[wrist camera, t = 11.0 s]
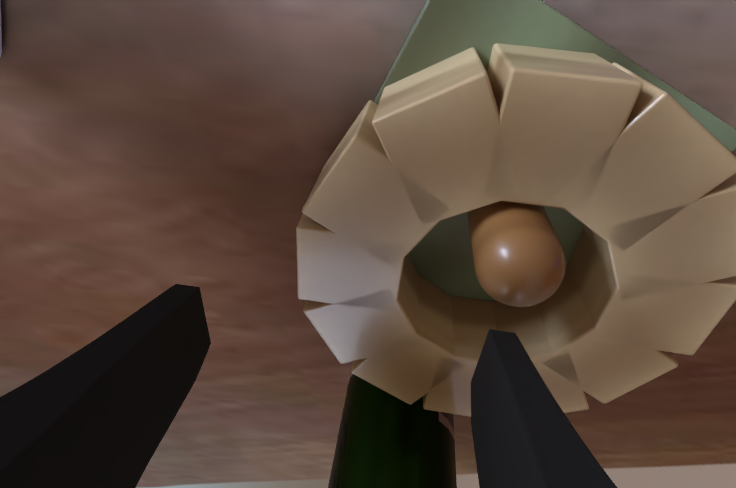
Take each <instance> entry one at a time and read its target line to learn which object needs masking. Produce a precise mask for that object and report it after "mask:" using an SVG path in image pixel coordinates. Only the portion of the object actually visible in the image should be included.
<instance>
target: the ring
mask: <svg viewBox="0 0 736 488" xmlns="http://www.w3.org/2000/svg"><path fill="white" fill-rule="evenodd" d="M499 201H507V202H515V203H522V204H530V205H538V206H546V207H554V208H562V209H565V210H566V211H567V212H569V213H570V214H571V215H573V216H574V217H575V218H576V219H578V220H579V221H580V222H582V223H583V227H584V230H583V232H582V234H581V236H580V239H579V241H578V243H577V245H576V248H575V250H574V252H573V254H572V256H571V259H570V261H569V263H568V265H567V266H566V269H565V275H564V278H563V280H562V283H561V285H560V286H559V288H558V289H557V290H556V292H555V293H554V294H553V295H552V296H550V297H549V298H548V299H546V300H545V301H543V302H541V303H539V304H536V305H533V306H528V307H514V306H509V305H505V304H503V303H501V302H498V301H497V300H494V301H486V300H479V299H472V298H465V297H457V296H451V295H449V294H448V293H446V292H445V291H443V290H442V289H440V288H438V287H437V286H435V285H434V284H432V283H431V282H429V281H428V280H426V279H424V278H423V277H421V276H420V275H419V274H418V272H417V270H416V268H415V266H414V264H413V262H412V260H411V258H410V256H409V254H408V253H409V252H410V251H411V250H412V249H413V248H414V247H415V246H416V245H417V244H418V243H419V242H420V241H421V240H422V239H423V238H424V237H425V236H426V235H427V234H428V233H429V231H430V230H431V229H432V228H433V227H434V226H435V225H436V224H437V223H438V222H439V221H441V220H444V219H447V218H450V217H453V216H456V215H459V214H462V213H465V212H468V211H471V210H474V209H477V208H480V207H484V206H487V205H490V204H493V203H496V202H499ZM302 213H303V215H302V217H301V219H300V221H299V223H298V225H297V227H296V243H297V284H298V299H302V300H307V301H306V303H305V306H304V309H303V311H304V313H305V315H306V316H307V317H308V319H309V320H310V322H311V323H312V324H313V326H314V327H315V329H316V330H317V331H318V333H319V334H320V336H321V337H322V338H323V340H324V341H325V343H326V344H327V345H328V347H329V348H330V350H331V351H332V352H333V354H334V355H335V357H336V358H337V359H338V361H339V362H340V363H341V364H343V363H348V362H352V361H353V363H352V368H351V373H353V374H354V375H356V376H358V377H360V378H362V379H364V380H365V381H367V382H369V383H371V384H373V385H375V386H376V387H378V388H380V389H382V390H384V391H386V392H387V393H389V394H391V395H393V396H395V397H397V398H398V399H400V400H402V401H404V402H406V403H408V404H410V405H411V404H413V403H414V402H415V401H417V400H418V399H420V398H421V397H422V396H423V407H424V409H425V410H432V411H438V412H444V413H451V414H457V415H464V416H470V417H471V380H472V377H473V374H474V371H475V368H476V366H477V363H478V360H479V357H480V354H481V351H482V348H483V345H484V343H485V340H486V337H487V334H488V331H489V329H492V330H499V331H506V332H513V333H515V334H516V335H517V336H518V338H519V339H520V341H521V343H522V345H523V346H524V348H525V350H526V352H527V353H528V355H529V357H530V359H531V360H532V362H533V364H534V366H535V367H536V369H537V371H538V372H539V374H540V376H541V377H542V379H543V381H544V382H545V384H546V386H547V387H548V389H549V390H550V392H551V394H552V395H553V397H554V398H555V400H556V402H557V403H558V405H559V406H560V408H561V409H562V411H563V412H564V413H566V412H573V411H580V410H587V409H589V405H588V401H587V398H586V395H585V392H586V393H588V394H589V395H591V396H592V397H594V398H596V399H597V400H599V401H600V402H602V403H604V404H605V403H608V402H610V401H612V400H614V399H616V398H617V397H619V396H621V395H623V394H625V393H627V392H629V391H631V390H633V389H635V388H637V387H639V386H641V385H643V384H645V383H647V382H649V381H651V380H653V379H655V378H657V377H658V376H660V375H662V374H664V373H666V372H668V371H670V370H672V369H674V368H676V367H678V366H679V365H678V362H677V361H676V359H675V357H674V356H673V354H672V353H679V354H686V355H693V354H694V353H695V352H696V351H697V349H698V348H699V347H700V346H701V344H702V343H703V342H704V341H705V339H706V338H707V337H708V335H709V334H710V333H711V332H712V330H713V329H714V328H715V327H716V325H717V324H718V323H719V321H720V320H721V319H722V318H723V316H724V315H725V314H726V313H727V311H728V310H729V309H730V307H731V306H732V305H733V304H734V302H735V301H736V277H735V276H736V156H735V155H734V154H732V153H731V152H730V151H729V150H728V149H727V148H726V147H725V146H724V145H723V144H722V143H721V142H720V141H719V140H718V139H717V138H715V137H714V136H713V135H712V134H711V133H710V132H709V131H708V130H707V129H706V128H705V127H704V126H703V125H702V124H701V123H699V122H698V121H697V120H696V119H695V118H694V117H693V116H692V115H691V114H690V113H689V112H688V111H687V110H686V109H685V108H684V107H682V106H681V105H680V104H679V103H678V102H677V101H676V100H675V99H674V98H673V97H672V96H671V95H670V94H669V93H667V92H666V91H664V90H662V89H660V88H659V87H657V86H655V85H654V84H652V83H650V82H648V81H647V80H645V79H643V78H642V77H640V76H638V75H636V74H635V73H633V72H631V71H630V70H628V69H626V68H624V67H623V66H621V65H619V64H618V63H615V62H614V63H612V64H611V63H609V62H608V61H606V60H604V59H603V58H601V57H600V56H598V55H596V54H595V53H586V52H576V51H567V50H557V49H548V48H538V47H529V46H520V45H510V44H501V43H496V44H494V46H493V48H492V52H491V57H490V61H489V65H488V70H487V72H486V70H485V68H484V66H483V64H482V61H481V59H480V57H479V55H478V53H477V51H476V49H475V48H474V47H471V48H469V49H467V50H465V51H463V52H460V53H458V54H456V55H454V56H452V57H450V58H447V59H445V60H443V61H441V62H439V63H436V64H434V65H432V66H430V67H428V68H426V69H423V70H421V71H419V72H417V73H415V74H412V75H410V76H408V77H406V78H404V79H402V80H399V81H397V82H395V83H393V84H391V85H388V86H386V87H385V88H384V89H383V92H382V95H381V98H380V101H379V104H378V105H377V104H376V103H375V102H373V101H371V100H370V101H368V102H367V104H366V105H365V107H364V108H363V110H362V111H361V113H360V114H359V116H358V117H357V118H356V120H355V121H354V123H353V124H352V126H351V127H350V129H349V130H348V132H347V133H346V134H345V136H344V137H343V139H342V140H341V142H340V143H339V145H338V146H337V148H336V149H335V150H334V152H333V153H332V155H331V156H330V158H329V159H328V161H327V162H326V164H325V165H324V167H323V169H322V171H321V173H320V175H319V177H318V179H317V181H316V183H315V185H314V187H313V189H312V191H311V193H310V195H309V197H308V199H307V200H306V202H305V204H304V206H303V208H302Z"/></svg>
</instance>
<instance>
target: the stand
mask: <svg viewBox="0 0 736 488" xmlns="http://www.w3.org/2000/svg"><path fill="white" fill-rule="evenodd" d="M496 43H501V44H510V45H520V46H529V47H538V48H548V49H557V50H567V51H576V52H586V53H595V54H596V55H598V56H600V57H601V58H603V59H604V60H606V61H608V62H609V63H611V64H612V63H614V62H615V63H618V64H619V65H621V66H623V67H624V68H626V69H628V70H630V71H631V72H633V73H635V74H636V75H638V76H640V77H642V78H643V79H645V80H647V81H648V82H650V83H652V84H654V85H655V86H657V87H659V88H660V89H662V90H664V91H666V92H667V93H669V94H670V95H671V96H672V97H673V98H674V99H675V100H676V101H677V102H678V103H679V104H680V105H681V106H682V107H684V108H685V109H686V110H687V111H688V112H689V113H690V114H691V115H692V116H693V117H694V118H695V119H696V120H697V121H698V122H699V123H701V124H702V125H703V126H704V127H705V128H706V129H707V130H708V131H709V132H710V133H711V134H712V135H713V136H714V137H715V138H717V139H718V140H719V141H720V142H721V143H722V144H723V145H724V146H725V147H726V148H727V149H728V150H729V151H730V152H731V153H732V152H733V151H735V150H736V129H734V128H733V127H731V126H730V125H728V124H727V123H725V122H724V121H722V120H721V119H719V118H718V117H716V116H715V115H713V114H712V113H710V112H708V111H707V110H705V109H704V108H702V107H701V106H699V105H698V104H696V103H695V102H693V101H692V100H690V99H689V98H687V97H686V96H684V95H683V94H681V93H680V92H678V91H677V90H675V89H674V88H672V87H671V86H669V85H668V84H666V83H665V82H663V81H662V80H660V79H659V78H657V77H656V76H654V75H653V74H651V73H650V72H648V71H647V70H645V69H644V68H642V67H641V66H639V65H638V64H636V63H634V62H633V61H631V60H630V59H628V58H627V57H625V56H624V55H622V54H621V53H619V52H618V51H616V50H615V49H613V48H612V47H610V46H609V45H607V44H606V43H604V42H603V41H601V40H600V39H598V38H597V37H595V36H594V35H592V34H591V33H589V32H588V31H586V30H585V29H583V28H582V27H580V26H579V25H577V24H576V23H574V22H573V21H571V20H570V19H568V18H567V17H565V16H563V15H562V14H560V13H559V12H557V11H556V10H554V9H553V8H551V7H550V6H548V5H547V4H545V3H544V2H542V1H541V0H427V1H426V3H425V4H424V6H423V8H422V10H421V12H420V14H419V16H418V18H417V20H416V22H415V24H414V26H413V27H412V29H411V31H410V33H409V35H408V37H407V39H406V41H405V43H404V45H403V47H402V49H401V50H400V52H399V54H398V56H397V58H396V60H395V62H394V64H393V66H392V68H391V70H390V72H389V73H388V75H387V77H386V79H385V81H384V83H383V85H382V87H381V89H380V91H379V93H378V95H377V97H376V98H375V100H374V102H375V103H376V104H377V105H378V104H379V101H380V98H381V95H382V92H383V89H384V88H385V87H386V86H388V85H391V84H393V83H395V82H397V81H399V80H402V79H404V78H406V77H408V76H410V75H412V74H415V73H417V72H419V71H421V70H423V69H426V68H428V67H430V66H432V65H434V64H436V63H439V62H441V61H443V60H445V59H447V58H450V57H452V56H454V55H456V54H458V53H460V52H463V51H465V50H467V49H469V48H471V47H474V48H475V49H476V51H477V53H478V55H479V57H480V59H481V61H482V64H483V66H484V68H485V70H486V72H487V70H488V65H489V61H490V57H491V52H492V48H493V46H494V44H496ZM583 230H584V227H583V223H582V222H580V221H579V220H578V219H576V218H575V217H574V216H573V215H571V214H570V213H569V212H567V211H566V210H565V209H562V208H554V207H546V206H538V205H530V204H522V203H515V202H507V201H499V202H496V203H493V204H490V205H487V206H484V207H480V208H477V209H474V210H471V211H468V212H465V213H462V214H459V215H456V216H453V217H450V218H447V219H444V220H441V221H439V222H438V223H437V224H436V225H435V226H434V227H433V228H432V229H431V230H430V231H429V233H428V234H427V235H426V236H425V237H424V238H423V239H422V240H421V241H420V242H419V243H418V244H417V245H416V246H415V247H414V248H413V249H412V250H411V251H410V252H409V253H408V254H409V256H410V258H411V260H412V262H413V264H414V266H415V268H416V270H417V272H418V274H419V275H420V276H421V277H423V278H424V279H426V280H428V281H429V282H431V283H432V284H434V285H435V286H437V287H438V288H440V289H442V290H443V291H445V292H446V293H448V294H449V295H451V296H457V297H465V298H472V299H479V300H486V301H494V300H497V301H498V302H501V303H503V304H505V305H509V306H514V307H528V306H533V305H536V304H539V303H541V302H543V301H545V300H546V299H548V298H549V297H550V296H552V295H553V294H554V293H555V292H556V290H557V289H558V288H559V286H560V285H561V283H562V280H563V278H564V275H565V269H566V266H567V265H568V263H569V261H570V259H571V256H572V254H573V252H574V250H575V248H576V245H577V243H578V241H579V239H580V236H581V234H582V232H583Z"/></svg>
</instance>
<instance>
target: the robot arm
mask: <svg viewBox="0 0 736 488" xmlns="http://www.w3.org/2000/svg"><path fill="white" fill-rule="evenodd" d="M1 55H2V31H1V0H0V57H1ZM210 344H211V342H210V337H209V332H208V327H207V322H206V317H205V312H204V308H203V303H202V298H201V293H200V288H199V287H193V286H187V285H180V284H175V285H174V286H172V287H171V288H169V289H168V290H166V291H165V292H163V293H162V294H161V295H159V296H158V297H156V298H155V299H153V300H152V301H151V302H149V303H148V304H146V305H145V306H143V307H142V308H141V309H139V310H138V311H136V312H135V313H134V314H132V315H131V316H129V317H128V318H126V319H125V320H123V321H122V322H121V323H119V324H118V325H116V326H115V327H113V328H112V329H110V330H109V331H107V332H106V333H105V334H103V335H102V336H100V337H99V338H97V339H96V340H94V341H93V342H91V343H90V344H88V345H86V346H85V347H83V348H82V349H80V350H79V351H77V352H75V353H74V354H72V355H71V356H69V357H68V358H66V359H64V360H63V361H61V362H60V363H58V364H57V365H55V366H53V367H52V368H50V369H49V370H47V371H45V372H44V373H42V374H40V375H39V376H37V377H35V378H34V379H32V380H30V381H28V382H27V383H25V384H23V385H21V386H20V387H18V388H16V389H14V390H13V391H11V392H9V393H7V394H5V395H3V396H2V397H0V488H135V487H136V485H137V483H138V481H139V480H140V478H141V476H142V474H143V472H144V470H145V468H146V466H147V464H148V463H149V461H150V459H151V457H152V456H153V454H154V452H155V450H156V449H157V447H158V445H159V443H160V442H161V440H162V438H163V437H164V435H165V433H166V431H167V430H168V428H169V426H170V424H171V423H172V421H173V419H174V417H175V416H176V414H177V412H178V410H179V409H180V407H181V405H182V403H183V402H184V400H185V398H186V396H187V395H188V393H189V391H190V389H191V387H192V386H193V384H194V382H195V380H196V378H197V375H198V373H199V371H200V369H201V366H202V364H203V361H204V359H205V356H206V354H207V351H208V349H209V346H210ZM471 425H472V433H473V441H474V448H475V456H476V464H477V471H478V478H479V485H480V488H617V487H616V486H615V484H614V483H613V482H612V480H611V479H610V478H609V476H608V475H607V474H606V472H605V471H604V470H603V468H602V467H601V466H600V464H599V463H598V462H597V460H596V459H595V457H594V456H593V455H592V453H591V452H590V450H589V449H588V448H587V446H586V445H585V443H584V442H583V441H582V439H581V438H580V436H579V435H578V433H577V432H576V430H575V429H574V428H573V426H572V425H571V423H570V422H569V420H568V418H567V417H566V415H565V414H564V412H563V411H562V409H561V408H560V406H559V405H558V403H557V402H556V400H555V398H554V397H553V395H552V394H551V392H550V390H549V389H548V387H547V386H546V384H545V382H544V381H543V379H542V377H541V376H540V374H539V372H538V371H537V369H536V367H535V366H534V364H533V362H532V360H531V359H530V357H529V355H528V353H527V352H526V350H525V348H524V346H523V345H522V343H521V341H520V339H519V338H518V336H517V335H516V334H515V333H513V332H506V331H499V330H492V329H489V331H488V334H487V337H486V340H485V343H484V345H483V348H482V351H481V354H480V357H479V360H478V363H477V366H476V368H475V371H474V374H473V377H472V380H471Z"/></svg>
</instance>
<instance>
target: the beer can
mask: <svg viewBox="0 0 736 488" xmlns="http://www.w3.org/2000/svg"><path fill="white" fill-rule="evenodd" d="M328 488H457V486H456V465H455V443H454V422H453V414H451V413H444V412H438V411H432V410H425V409H424V407H423V396H422V397H421V398H420V399H418V400H417V401H415V402H414V403H413V404H411V405H410V404H408V403H406V402H404V401H402V400H400V399H398V398H397V397H395V396H393V395H391V394H389V393H387V392H386V391H384V390H382V389H380V388H378V387H376V386H375V385H373V384H371V383H369V382H367V381H365V380H364V379H362V378H360V377H358V376H356V375H354V374H353V375H352V376H351V378H350V380H349V384H348V387H347V393H346V398H345V403H344V408H343V413H342V418H341V424H340V429H339V434H338V439H337V444H336V449H335V455H334V460H333V465H332V470H331V475H330V480H329V486H328Z"/></svg>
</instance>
